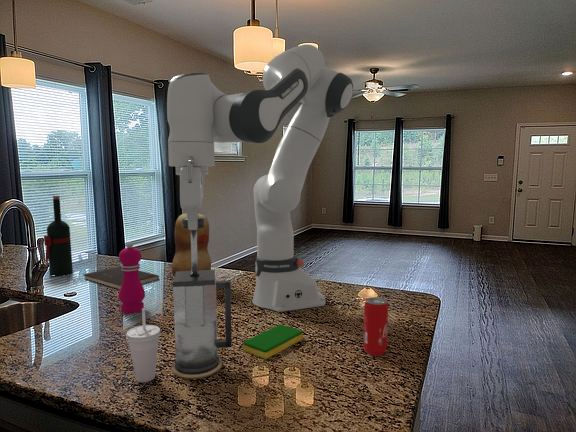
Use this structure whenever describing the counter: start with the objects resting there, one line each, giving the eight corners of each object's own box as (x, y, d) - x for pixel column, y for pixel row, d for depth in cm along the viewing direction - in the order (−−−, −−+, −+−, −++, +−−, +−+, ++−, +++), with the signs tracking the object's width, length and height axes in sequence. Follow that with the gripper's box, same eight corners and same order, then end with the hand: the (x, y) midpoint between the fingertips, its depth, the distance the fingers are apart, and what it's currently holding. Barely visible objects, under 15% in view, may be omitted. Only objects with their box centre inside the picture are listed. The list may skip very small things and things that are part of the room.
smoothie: (165, 369, 86) (163, 304, 85) (157, 385, 80) (154, 315, 78) (134, 369, 86) (131, 304, 84) (123, 386, 80) (119, 315, 78)
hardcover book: (119, 291, 140) (119, 284, 140) (83, 280, 154) (83, 274, 153) (159, 280, 153) (159, 274, 153) (122, 271, 167) (122, 265, 166)
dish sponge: (242, 351, 96) (242, 341, 95) (280, 332, 106) (280, 323, 106) (265, 361, 91) (265, 350, 91) (303, 340, 102) (303, 330, 102)
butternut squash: (192, 291, 139) (190, 216, 136) (164, 285, 146) (161, 214, 143) (219, 281, 151) (218, 212, 148) (192, 276, 158) (191, 210, 155)
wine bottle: (39, 276, 157) (33, 196, 154) (65, 270, 166) (60, 194, 162) (51, 278, 153) (45, 197, 150) (77, 272, 162) (72, 195, 158)
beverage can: (370, 344, 98) (371, 295, 97) (390, 350, 95) (392, 300, 94) (359, 352, 94) (360, 301, 93) (380, 359, 91) (381, 306, 90)
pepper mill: (137, 315, 117) (133, 245, 114) (113, 313, 118) (110, 244, 116) (150, 306, 124) (147, 240, 121) (128, 305, 125) (125, 239, 123)
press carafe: (230, 352, 94) (229, 267, 92) (233, 375, 84) (231, 280, 81) (173, 357, 92) (170, 270, 89) (169, 381, 82) (165, 284, 79)
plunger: (210, 282, 89) (208, 216, 87) (210, 290, 83) (208, 220, 81) (181, 283, 88) (179, 217, 86) (178, 292, 82) (176, 221, 80)
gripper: (207, 157, 73) (209, 235, 74) (208, 158, 93) (209, 220, 94) (170, 156, 71) (172, 236, 73) (178, 158, 91) (180, 220, 93)
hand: (193, 227), depth 84 cm, fingers closed on plunger, 4 cm apart
